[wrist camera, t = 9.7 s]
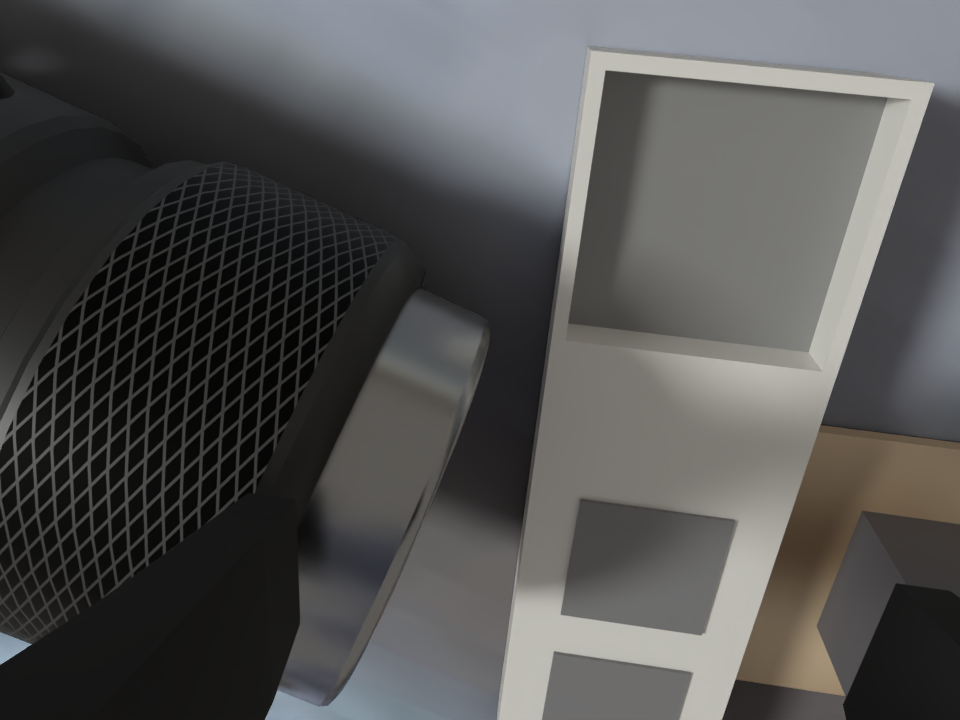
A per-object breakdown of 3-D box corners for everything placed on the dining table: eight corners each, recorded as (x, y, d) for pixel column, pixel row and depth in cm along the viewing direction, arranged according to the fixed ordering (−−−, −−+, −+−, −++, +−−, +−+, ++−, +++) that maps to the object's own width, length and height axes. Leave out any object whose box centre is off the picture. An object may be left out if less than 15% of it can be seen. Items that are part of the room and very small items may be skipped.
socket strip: (679, 717, 24) (696, 826, 21) (500, 689, 24) (489, 792, 21) (870, 72, 15) (951, 86, 12) (587, 46, 16) (592, 51, 12)
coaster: (1005, 709, 22) (1013, 721, 22) (711, 665, 23) (713, 675, 22) (1147, 466, 18) (1158, 475, 18) (787, 420, 19) (791, 428, 19)
